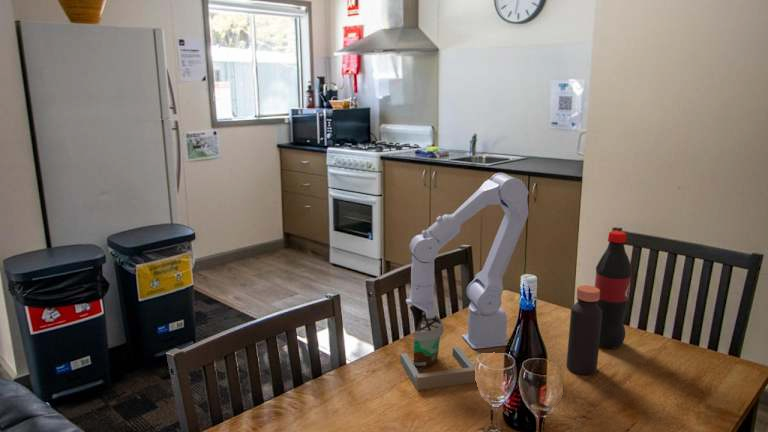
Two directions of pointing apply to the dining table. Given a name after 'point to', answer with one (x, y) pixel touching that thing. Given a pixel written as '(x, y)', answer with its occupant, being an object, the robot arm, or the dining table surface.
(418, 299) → the robot arm
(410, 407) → the dining table surface
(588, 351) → the dark grey water bottle
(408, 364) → the frame
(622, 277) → the cola bottle
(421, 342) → the food container
